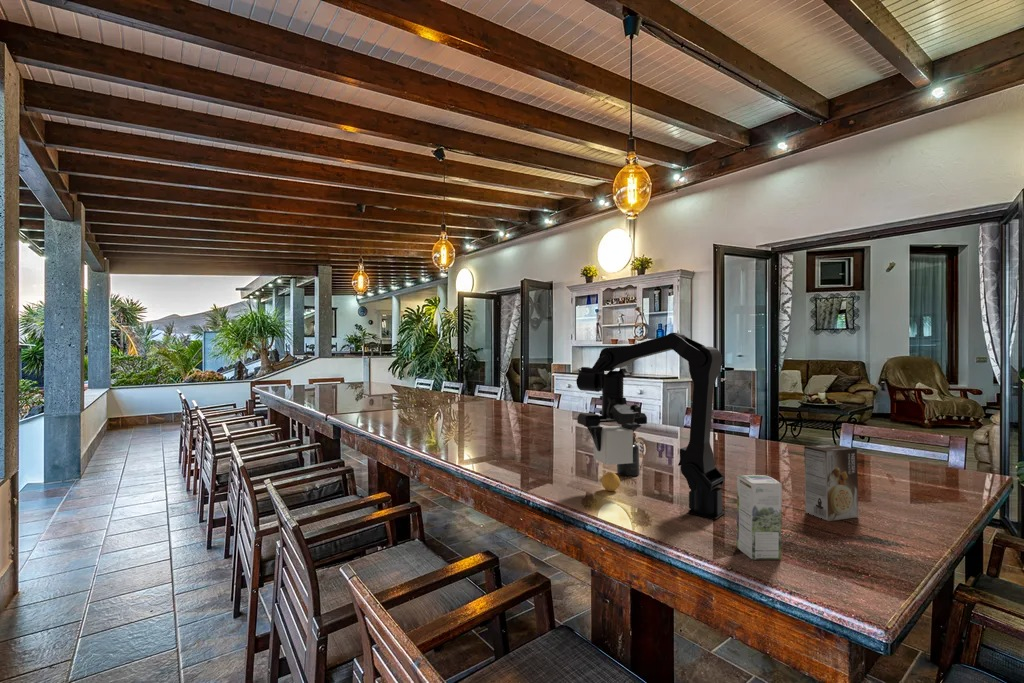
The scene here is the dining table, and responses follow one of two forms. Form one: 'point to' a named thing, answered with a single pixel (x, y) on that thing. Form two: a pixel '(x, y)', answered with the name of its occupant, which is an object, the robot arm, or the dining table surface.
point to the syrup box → (759, 516)
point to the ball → (610, 481)
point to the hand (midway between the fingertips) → (612, 450)
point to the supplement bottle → (630, 468)
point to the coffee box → (831, 482)
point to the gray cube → (615, 446)
